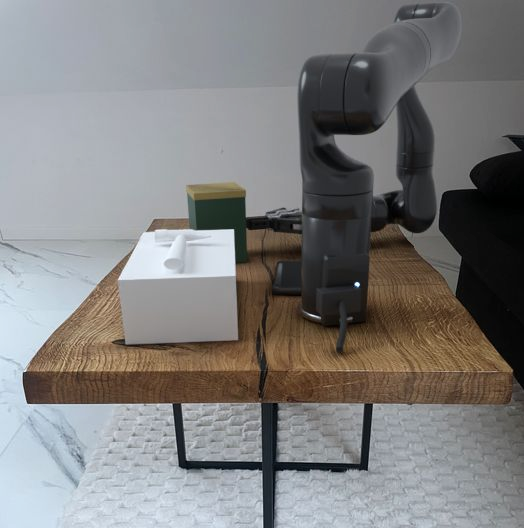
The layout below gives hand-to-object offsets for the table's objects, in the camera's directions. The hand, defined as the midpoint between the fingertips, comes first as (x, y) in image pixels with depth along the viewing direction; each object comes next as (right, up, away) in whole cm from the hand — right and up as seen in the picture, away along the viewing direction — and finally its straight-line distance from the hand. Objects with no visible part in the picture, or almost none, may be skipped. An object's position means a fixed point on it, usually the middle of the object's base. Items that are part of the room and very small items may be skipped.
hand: (246, 223), depth 112 cm
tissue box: (-8, -18, -23) cm, 30 cm away
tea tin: (-5, -6, +1) cm, 8 cm away
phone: (+9, -12, -12) cm, 19 cm away
